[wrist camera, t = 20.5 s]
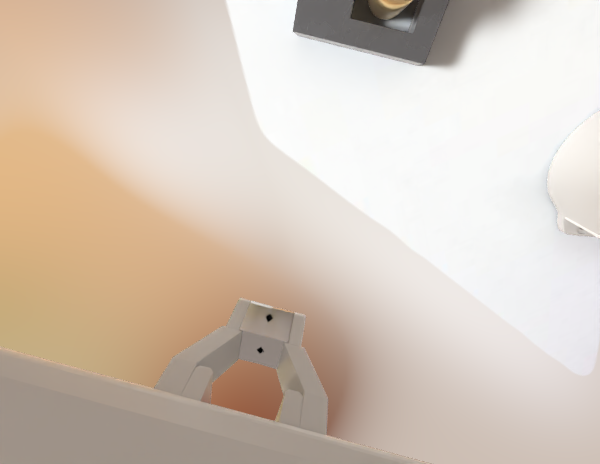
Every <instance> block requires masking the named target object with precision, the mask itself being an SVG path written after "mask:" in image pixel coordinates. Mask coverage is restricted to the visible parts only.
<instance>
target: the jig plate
mask: <svg viewBox="0 0 600 464" xmlns="http://www.w3.org/2000/svg"><path fill="white" fill-rule="evenodd" d="M354 2H355V0H298V2H297V9H296V15H295V21H294V27H293V32H294V33H295V34H297V35H298V36H301V37H305V38H309V39H313V40H317V41H321V42H325V43H329V44H333V45H337V46H341V47H345V48H349V49H353V50H357V51H361V52H365V53H369V54H373V55H377V56H381V57H385V58H389V59H393V60H397V61H401V62H405V63H409V64H413V65H422V64H425V61H426V59H427V56H428V53H429V51H430V48H431V46H432V43H433V41H434V38H435V35H436V33H437V30H438V28H439V25H440V22H441V20H442V17H443V15H444V12H445V10H446V7H447V4H448V2H449V0H419V1H418V3H417V6H416V9H415V12H414V15H413V18H412V21H411V24H410V27H409V30H408V33H407V32H403V31H399V30H395V29H391V28H387V27H383V26H379V25H375V24H371V23H367V22H363V21H359V20H355V19H351V14H352V10H353V6H354Z"/></svg>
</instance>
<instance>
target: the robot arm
mask: <svg viewBox="0 0 600 464" xmlns="http://www.w3.org/2000/svg"><path fill="white" fill-rule="evenodd" d="M547 189H548V194H549V196H550V198H551V200H552V202H553V204H554V205H555V207H556V209H557V212H558V215H557V226H558V229H559V230H560V231H562V232H564V233H566V234H568V235H578V236H591V237H598V238H600V110H599V111H598V112H596V113H595V114H593V115H592V116H591V117H589V118H588V119H587V120H585V121H584V122H583V123H582V124H580V125H579V126H578V127H577V128H576V129H575V130H574V131H573V132H572V133H571V134H570V135H569V136H568V137H567V139H566V140H565V141H564V142H563V144H562V145H561V146H560V148H559V149H558V151H557V153H556V154H555V156H554V158H553V160H552V162H551V165H550V168H549V171H548V176H547ZM305 319H306V316H305V315H304V314H300V313H296V312H295V313H294V312H292V311H288V310H284V309H280V308H276V307H272V306H268V305H265V304H261V303H258V302H254V301H250V300H247V299H244V298H240V299H239V300H238V302H237V304H236V306H235V309H234V311H233V313H232V315H231V317H230V319H229V321H228V323H227V325H226V327H225V326H222V327H220V328H218V329H217V330H215V331H214V332H212V333H210V334H209V335H207V336H206V337H204V338H203V339H201V340H199V341H198V342H196V343H194V344H193V345H191V346H190V347H188V348H186V349H185V350H183V351H182V352H180V353H179V354H177V355H175V356H174V357H173V358H172V359H171V361H170V363H169V365H168V366H167V368H166V369H165V371H164V372H163V374H162V376H161V377H160V379H159V381H158V382H157V384H156V385H155V387H154V388H150V387H146V386H143V385H139V384H135V383H132V382H128V381H124V380H121V379H117V378H113V377H110V376H106V375H102V374H99V373H95V372H91V371H87V370H84V369H80V368H76V367H73V366H69V365H65V364H62V363H58V362H54V361H51V360H47V359H43V358H40V357H36V356H32V355H28V354H25V353H21V352H18V351H14V350H10V349H7V348H3V347H0V464H431V463H427V462H424V461H420V460H416V459H412V458H409V457H405V456H401V455H398V454H394V453H390V452H387V451H383V450H379V449H375V448H372V447H368V446H364V445H361V444H357V443H353V442H350V441H346V440H342V439H339V438H335V437H331V436H327V435H326V433H327V414H328V398H327V395H326V393H325V391H324V389H323V387H322V384H321V382H320V380H319V378H318V376H317V374H316V372H315V370H314V367H313V365H312V363H311V361H310V359H309V357H308V355H307V352H306V350H305V348H304V347H301V344H302V338H303V331H304V325H305ZM238 359H241V360H246V361H249V362H253V363H258V364H261V365H264V366H268V367H271V368H274V369H277V374H278V377H279V381H280V384H281V388H282V391H283V395H284V397H283V400H282V403H281V406H280V409H279V411H278V414H277V417H276V420H275V421H272V420H268V419H265V418H261V417H257V416H254V415H250V414H246V413H243V412H239V411H235V410H232V409H228V408H224V407H220V406H217V405H213V404H210V402H211V390H212V382H214V381H215V380H216V379H217V378H218V377H219V376H220V375H221V374H223V373H224V372H225V371H226V370H227V369H228V368H230V367H231V366H232V365H233V364H234V363H235V362H236V361H237V360H238Z"/></svg>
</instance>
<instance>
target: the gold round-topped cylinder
mask: <svg viewBox="0 0 600 464" xmlns="http://www.w3.org/2000/svg"><path fill="white" fill-rule="evenodd" d="M412 1H413V0H368V5H369V8H370V10H371V12H372V13H373V14H374V15H375V16H376V17H377V18H380V19H384V20H386V19H391V18H393V17H395V16H397V15H398V14H399V13H400V12H401V11H402V10H403V9H405V8H406V7H407V6H408V5H409V4H410V3H411V2H412Z"/></svg>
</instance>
